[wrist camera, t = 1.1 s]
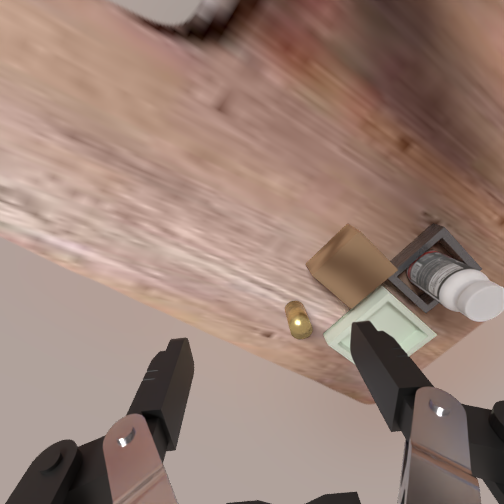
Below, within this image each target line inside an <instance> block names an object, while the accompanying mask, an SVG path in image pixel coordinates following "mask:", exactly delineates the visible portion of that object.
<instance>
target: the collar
mask: <svg viewBox="0 0 504 504" xmlns="http://www.w3.org/2000/svg"><path fill="white" fill-rule="evenodd" d="M437 241H439V242H440V243H441V244H442V245H443V246H444V247H445V248H446V249H447V251H448V252H449V253H450V254H451V255H452V256H453V257H454V258H455V259H456V260H457V261H460V262H462V263H464V264H466V265H468V266H470V267H472V268H474V269H477V270H479V271H480V270H482V268H481V267H480V266H479V265H478V264H477V263H476V262H475V260H474V259H473V258H472V257H471V256H470V255H469V254H468V253H467V252H466V250H465V249H464V248H463V247H462V246H461V245H460V244H459V243H458V242H457V240H456V239H455V238H454V237H453V236H452V235H451V234H450V233H449V232H448V231H447V229H446V228H445V227H443V226H440V225H437V224H434V223H433V224H432V225H430V226H429V227H428V228H427V229H426V230H425V231H424V232H423V233H422V234H420V235H419V236H418V237H417V238H416V239H415V240H414V241H413V242H411V243H410V244H409V245H408V246H407V247H406V248H405V249H404V250H403V251H401V252H400V253H399V254H398V255H397V256H396V257H395V258H394V259H393V260H391V261H390V262H391V263H392V264H393V265H394V266H395V267H396V268H397V269H398V271H396V272H395V273H394V274H393V275H392V276H390V277H389V278H388V280H389V281H390V282H392V283H393V284H394V285H395V286H396V287H397V288H398V289H399V290H400V291H401V292H402V293H404V294H405V295H406V296H407V297H408V298H409V299H410V300H411V301H412V302H413V303H415V304H416V305H417V306H418V307H419V308H420V309H421V310H423V311H424V312H425V313H427V312H428V311H429V310H431V309H432V308H433V307H435V306H436V305H437V304H438V303H439V302H437V301H436V300H435V299H433V298H432V297H431V296H429V295H428V294H426V293H424V294H423V295H422V296H420V297H418V296H417V295H416V294H415V293H414V292H413V291H412V290H411V289H410V288H408V287H407V286H406V285H405V284H404V283H403V282H402V281H401V280H400V279H399V278H398V277H397V276H398V275H399V274H400V273H402V272H403V271H404V270H405V269H406V268H407V267H409V266H410V265H411V264H412V263H413V262H414V261H415V260H417V259H418V258H419V257H420V256H421V255H422V254H424V253H425V252H426V251H427V250H428V249H429V248H430V247H432V246H433V245H434V244H435V243H436V242H437Z"/></svg>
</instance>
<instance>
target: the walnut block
mask: <svg viewBox="0 0 504 504" xmlns="http://www.w3.org/2000/svg"><path fill="white" fill-rule="evenodd" d="M306 266H307V267H308V269H309V271H310V273H311V274H312V276H313V277H314V278H316V279H317V280H318V281H319V282H320V283H321V284H323V285H324V286H325V287H326V288H327V289H328V290H330V291H331V292H332V293H333V294H334V295H335V296H337V297H338V298H339V299H340V300H341V301H342V302H343V303H345V304H346V305H347V306H348V307H349V308H350V309H352V308H353V307H355V306H356V305H357V304H358V303H359V302H361V301H362V300H363V299H364V298H365V297H367V296H368V295H369V294H370V293H371V292H372V291H374V290H375V289H376V288H377V287H378V286H380V285H381V284H382V283H383V282H384V281H386V280H387V279H388V278H389V277H390V276H392V275H393V274H394V273H395V272H396V271H398V269H397V268H396V267H395V266H394V265H393V264H392V263H391V262H390V261H389V260H388V259H387V258H386V257H385V256H384V255H383V254H382V253H381V252H380V251H379V250H378V249H377V248H376V247H375V246H374V245H373V244H372V243H371V242H370V241H369V240H368V239H367V238H366V237H365V236H364V235H363V234H362V233H361V232H360V231H359V230H357V229H356V228H354V227H352V226H351V225H349V224H347V225H346V226H344V227H343V228H342V229H341V230H340V231H339V232H338V233H337V234H336V235H335V236H334V237H333V238H332V239H331V240H330V241H329V242H328V243H327V244H326V245H325V246H324V247H323V248H322V249H321V250H319V251H318V252H317V253H316V254H315V255H314V256H313V257H312V258H311V259H310V260H309V261H308V262H307V263H306Z"/></svg>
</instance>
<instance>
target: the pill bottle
mask: <svg viewBox="0 0 504 504" xmlns="http://www.w3.org/2000/svg"><path fill="white" fill-rule="evenodd" d="M407 276H408V279H409V280H410V281H411V282H412V283H413V284H414V285H415V286H417V287H418V288H420V289H421V290H422V291H424V292H425V293H426V294H428V295H429V296H431V297H432V298H433V299H435V300H436V301H437V302H439V303H440V304H442V305H443V306H444V307H446V308H447V309H449V310H452V311H456V312H461V313H462V314H463V315H465V316H466V317H468V318H469V319H471V320H473V321H477V322H483V321H488V320H491V319H493V318H495V317H497V316H498V315H499V314H501V313H502V312H503V310H504V288H503V287H502V286H500V285H498V284H496V283H494V282H492V281H490V280H489V279H488V277H487V276H486V275H485V274H484V273H482V272H480V271H479V270H477V269H474V268H472V267H470V266H468V265H466V264H464V263H462V262H460V261H457V260H455V259H453V258H451V257H449V256H447V255H445V254H443V253H440V252H437V251H426V252H425V253H424V254H422V255H421V256H420V257H419V258H418V259H417V260H415V261H414V262H413V263H412V264H411V265H410V266H409V267H407Z"/></svg>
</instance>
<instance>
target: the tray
mask: <svg viewBox="0 0 504 504" xmlns="http://www.w3.org/2000/svg"><path fill="white" fill-rule="evenodd" d="M359 321H370V322H371V323H372V324H373V325H374V327H375V328H376V329H377V331H385V332H386V333H387V334H389V335H390V336H392V337H393V338H394V339H395V340H396V341H397V342H398V343H399V345H400V346H401V348H402V349H403V350H404V351H405V352H406V353H407V354H408V357H409V356H410V355H411V354H413V353H414V352H415V351H417V350H418V349H419V348H421V347H422V346H423V345H425V344H426V343H428V342H429V341H430V340H432V339H433V338H434V337H436V336H437V334H436V333H435V332H434V331H432V330H431V329H430V328H429V327H428V326H427V325H426V324H425V323H424V322H422V321H421V320H420V319H419V318H418V317H417V316H416V315H415V314H413V313H412V312H411V311H410V310H409V309H408V308H407V307H406V306H404V305H403V304H402V303H401V302H400V301H399V300H398V299H397V298H396V297H394V296H393V295H392V294H391V293H390V292H389V291H388V290H387V289H385V288H384V287H383V286H382V285H380V286H378V287H377V288H376V289H375V290H374V291H372V292H371V293H370V294H369V295H368V296H367V297H365V298H364V299H363V300H362V301H361V302H359V303H358V304H357V305H356V306H355V307H353V308H352V309H351V310H350V311H348V312H347V313H346V314H345V315H344V316H343V317H342V318H340V319H339V320H338V321H337V322H336V323H335V324H334V325H332V326H331V327H330V328H329V329H328V330H327V331H326V332H324V333H323V335H324V337H325V340H326V342H327V344H328V345H329V346H330V347H332V348H333V349H334V350H336V351H337V352H338V353H340V354H341V355H343V356H344V357H345V358H347V359H348V360H350V361H351V362H352V363H354V361H353V359H352V356H351V351H350V340H351V326H352V323H353V322H359ZM354 364H355V363H354Z"/></svg>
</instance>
